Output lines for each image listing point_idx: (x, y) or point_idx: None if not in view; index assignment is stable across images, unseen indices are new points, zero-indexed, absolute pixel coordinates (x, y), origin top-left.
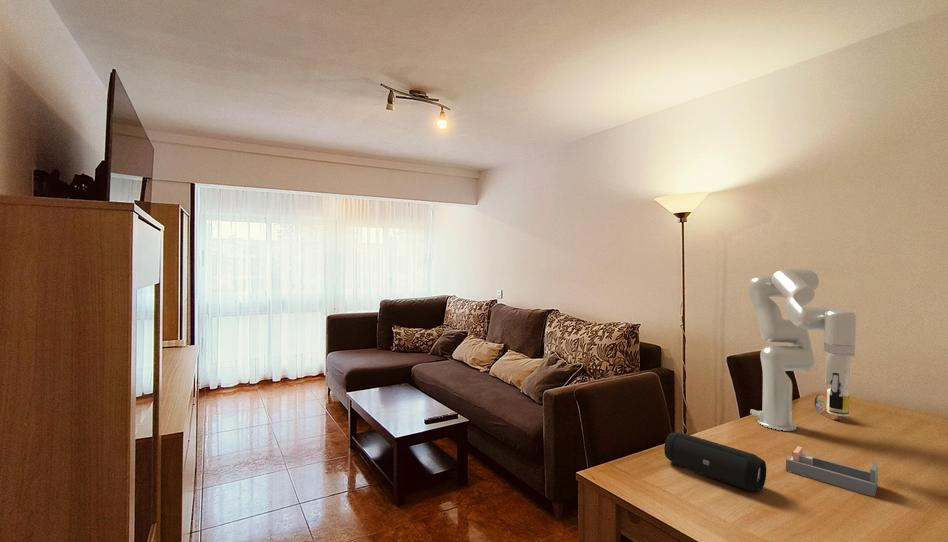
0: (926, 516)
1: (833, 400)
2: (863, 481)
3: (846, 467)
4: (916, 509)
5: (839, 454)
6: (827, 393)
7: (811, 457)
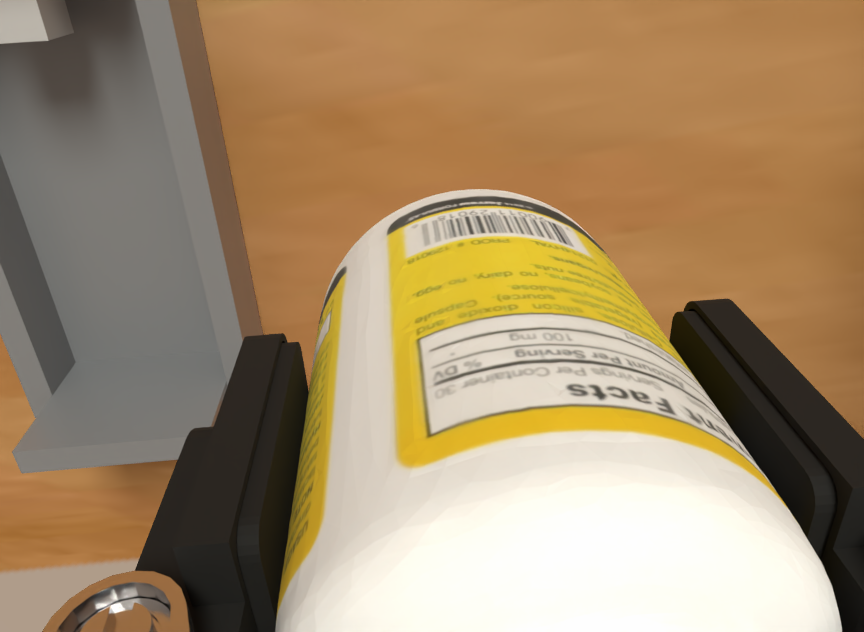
0: (82, 531)
1: (159, 528)
2: (18, 370)
3: (197, 248)
4: (123, 500)
5: (706, 79)
6: (427, 434)
7: (26, 31)
